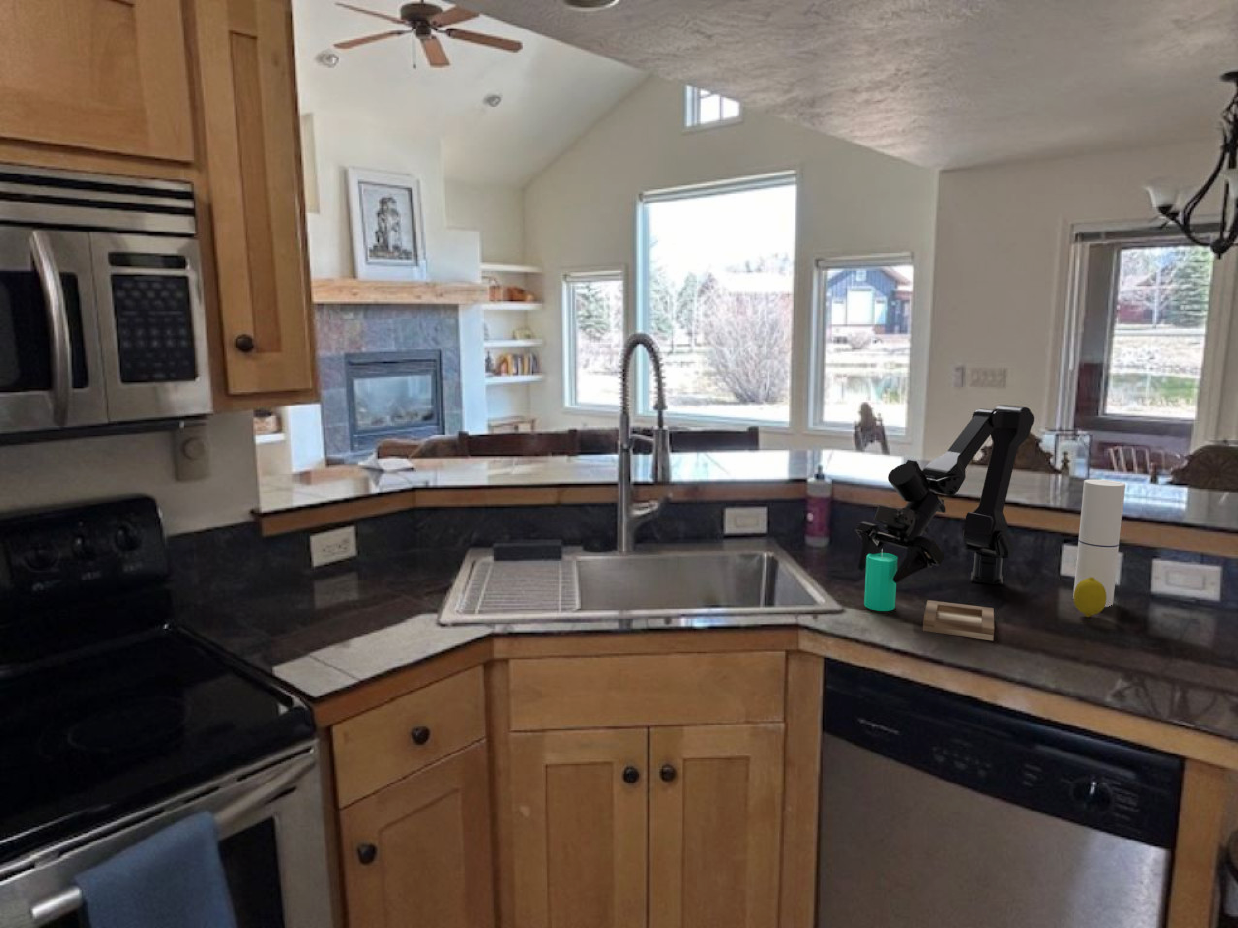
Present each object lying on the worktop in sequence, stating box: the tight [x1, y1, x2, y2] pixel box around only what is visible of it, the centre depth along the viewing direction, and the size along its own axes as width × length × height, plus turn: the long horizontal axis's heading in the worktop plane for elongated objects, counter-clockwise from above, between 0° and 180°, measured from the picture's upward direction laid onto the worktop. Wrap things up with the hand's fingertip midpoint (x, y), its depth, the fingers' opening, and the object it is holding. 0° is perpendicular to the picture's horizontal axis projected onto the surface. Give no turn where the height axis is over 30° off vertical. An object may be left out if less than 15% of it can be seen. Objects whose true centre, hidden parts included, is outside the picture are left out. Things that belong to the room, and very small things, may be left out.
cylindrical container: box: [1072, 478, 1126, 608], centre depth 165 cm, size 7×7×25 cm
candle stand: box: [922, 599, 995, 642], centre depth 154 cm, size 12×12×2 cm
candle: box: [863, 548, 899, 612], centre depth 163 cm, size 6×6×12 cm
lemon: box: [1072, 577, 1106, 618], centre depth 157 cm, size 6×6×8 cm
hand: (876, 575), depth 162 cm, fingers open, 9 cm apart
